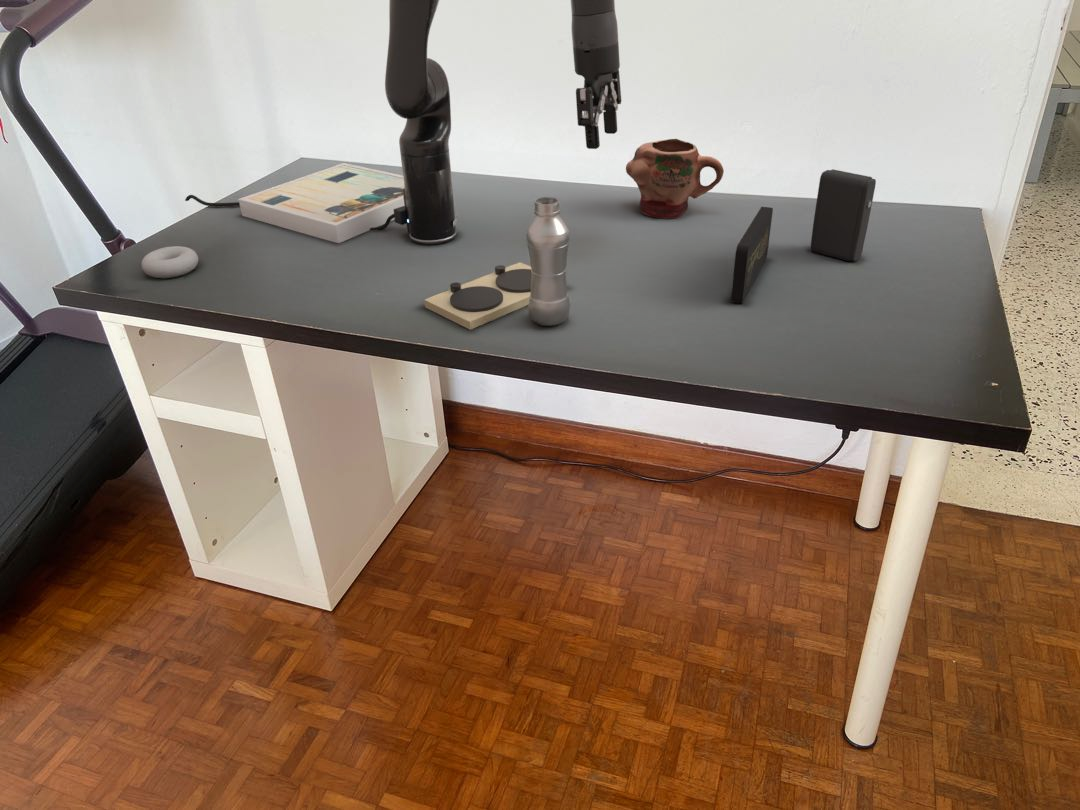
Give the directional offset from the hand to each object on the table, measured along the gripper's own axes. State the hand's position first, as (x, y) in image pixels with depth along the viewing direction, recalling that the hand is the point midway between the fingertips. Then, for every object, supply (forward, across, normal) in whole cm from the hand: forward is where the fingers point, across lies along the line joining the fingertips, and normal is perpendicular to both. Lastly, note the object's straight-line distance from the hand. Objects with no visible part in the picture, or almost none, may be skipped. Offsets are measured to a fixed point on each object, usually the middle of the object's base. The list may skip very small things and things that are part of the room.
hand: (602, 140), depth 147 cm
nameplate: (+23, +2, +27) cm, 36 cm away
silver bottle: (+20, +30, +1) cm, 36 cm away
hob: (+20, +25, -11) cm, 33 cm away
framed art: (+17, -4, -64) cm, 67 cm away
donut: (+15, +36, -74) cm, 83 cm away
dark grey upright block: (+25, -14, +39) cm, 48 cm away
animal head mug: (+23, -26, +4) cm, 35 cm away
